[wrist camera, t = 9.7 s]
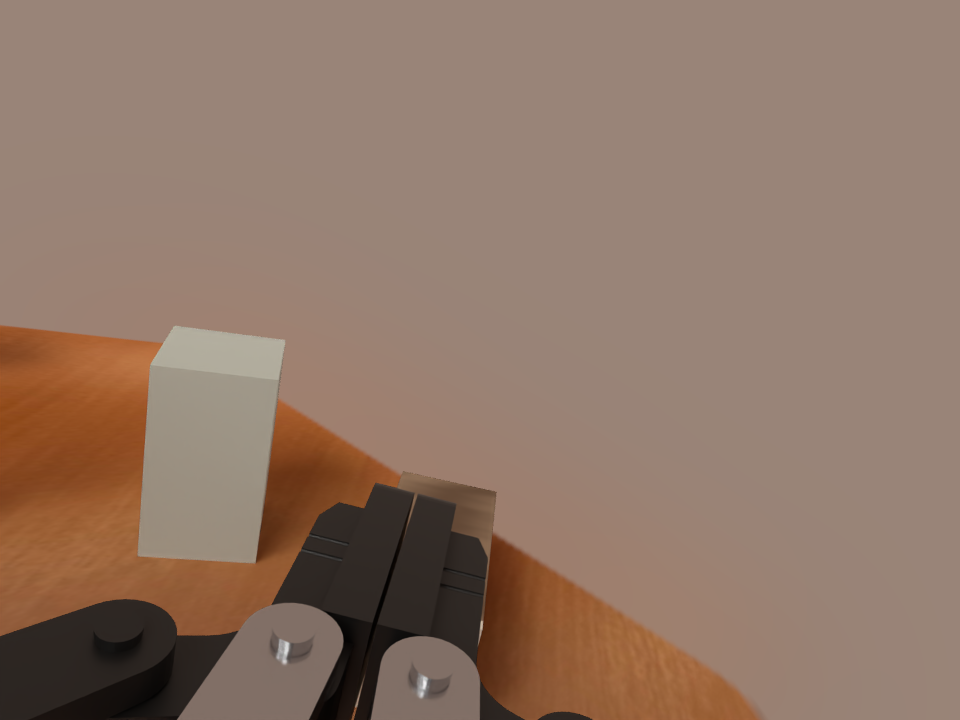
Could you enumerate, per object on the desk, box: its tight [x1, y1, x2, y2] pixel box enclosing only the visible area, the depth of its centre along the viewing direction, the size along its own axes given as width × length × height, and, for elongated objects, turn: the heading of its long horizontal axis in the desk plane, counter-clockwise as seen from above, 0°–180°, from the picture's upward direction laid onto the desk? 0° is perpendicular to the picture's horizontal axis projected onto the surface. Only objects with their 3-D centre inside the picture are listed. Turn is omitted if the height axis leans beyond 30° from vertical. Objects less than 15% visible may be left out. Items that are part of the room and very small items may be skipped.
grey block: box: [138, 326, 285, 563], centre depth 37 cm, size 6×6×10 cm
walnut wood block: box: [355, 472, 496, 707], centre depth 34 cm, size 5×5×11 cm
